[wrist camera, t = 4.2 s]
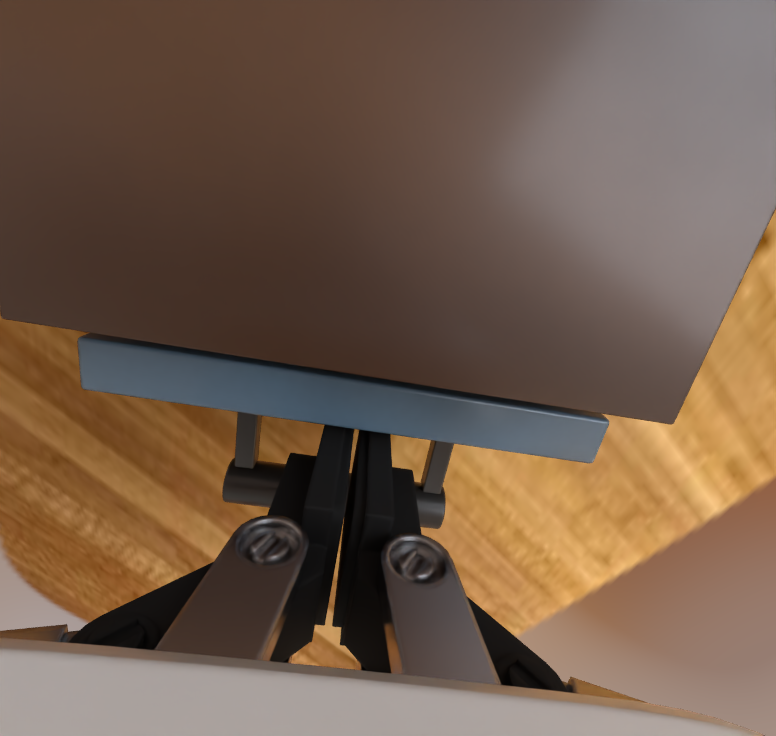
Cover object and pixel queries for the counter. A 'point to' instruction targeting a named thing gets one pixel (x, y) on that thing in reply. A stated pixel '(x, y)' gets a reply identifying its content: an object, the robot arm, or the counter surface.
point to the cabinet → (394, 184)
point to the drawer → (333, 411)
